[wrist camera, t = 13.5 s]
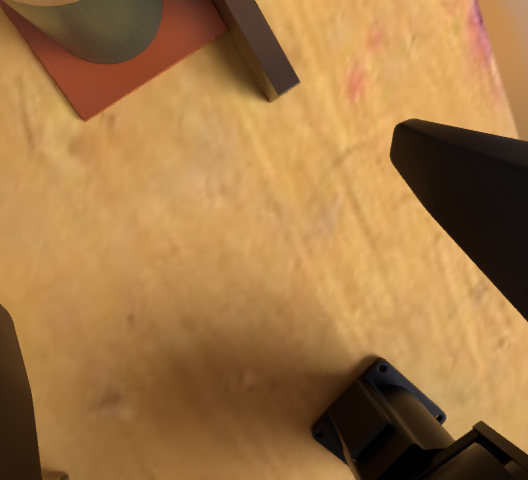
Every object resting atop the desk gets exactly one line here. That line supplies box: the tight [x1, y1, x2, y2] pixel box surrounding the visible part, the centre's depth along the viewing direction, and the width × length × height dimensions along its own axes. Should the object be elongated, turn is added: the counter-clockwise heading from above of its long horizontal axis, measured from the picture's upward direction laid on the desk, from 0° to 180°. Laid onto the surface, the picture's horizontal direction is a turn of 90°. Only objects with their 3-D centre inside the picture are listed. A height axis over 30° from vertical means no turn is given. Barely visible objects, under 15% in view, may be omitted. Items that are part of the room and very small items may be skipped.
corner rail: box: [0, 0, 300, 122], centre depth 18 cm, size 14×11×2 cm
